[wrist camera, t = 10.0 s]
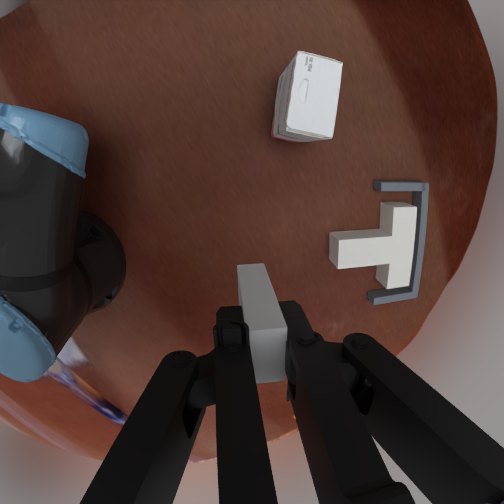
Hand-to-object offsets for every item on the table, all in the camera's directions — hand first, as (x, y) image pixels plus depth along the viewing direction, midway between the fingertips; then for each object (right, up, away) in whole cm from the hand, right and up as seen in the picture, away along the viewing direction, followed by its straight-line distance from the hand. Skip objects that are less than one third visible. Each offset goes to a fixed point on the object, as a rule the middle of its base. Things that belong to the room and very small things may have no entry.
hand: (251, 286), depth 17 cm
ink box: (+5, +20, +19) cm, 28 cm away
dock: (+22, +4, +26) cm, 34 cm away
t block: (+17, +3, +26) cm, 31 cm away
